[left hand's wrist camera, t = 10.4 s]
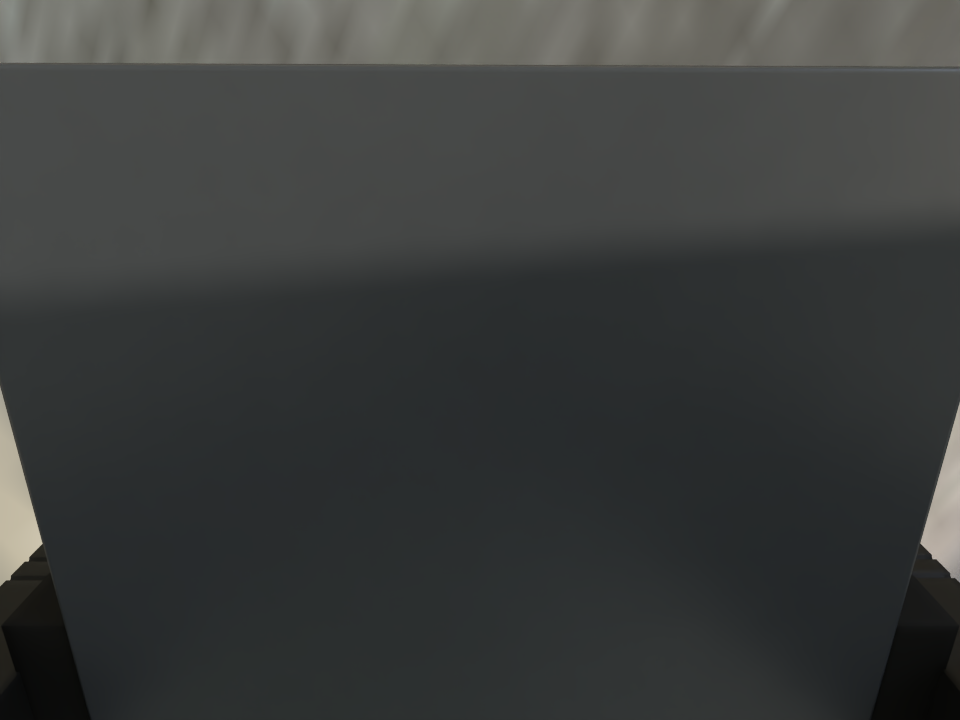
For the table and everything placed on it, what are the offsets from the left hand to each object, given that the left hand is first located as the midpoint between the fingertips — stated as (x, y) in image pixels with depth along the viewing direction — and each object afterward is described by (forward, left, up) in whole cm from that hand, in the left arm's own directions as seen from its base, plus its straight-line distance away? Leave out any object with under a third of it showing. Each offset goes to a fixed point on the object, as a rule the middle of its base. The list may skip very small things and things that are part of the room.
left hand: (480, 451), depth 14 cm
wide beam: (+20, +14, -1) cm, 24 cm away
